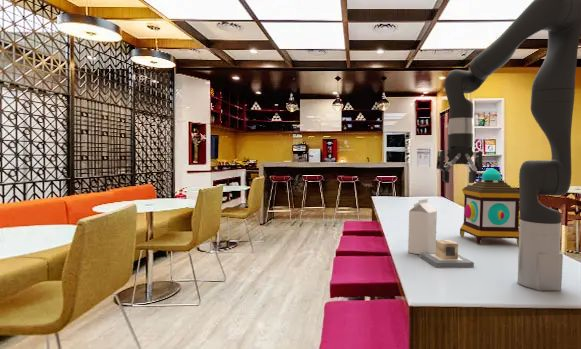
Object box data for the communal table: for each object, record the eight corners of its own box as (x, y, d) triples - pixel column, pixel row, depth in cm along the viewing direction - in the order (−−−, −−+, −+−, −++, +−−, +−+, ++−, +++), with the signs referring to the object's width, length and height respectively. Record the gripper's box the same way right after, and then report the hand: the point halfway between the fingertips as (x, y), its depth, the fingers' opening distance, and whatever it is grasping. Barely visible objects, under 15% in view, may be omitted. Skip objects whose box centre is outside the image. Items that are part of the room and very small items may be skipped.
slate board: (473, 267, 118) (474, 262, 118) (436, 267, 117) (436, 262, 117) (454, 257, 130) (454, 252, 130) (420, 257, 129) (420, 252, 129)
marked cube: (450, 255, 126) (450, 240, 126) (457, 259, 121) (458, 243, 121) (435, 255, 126) (435, 240, 126) (442, 259, 121) (443, 243, 121)
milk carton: (435, 253, 136) (437, 199, 135) (427, 256, 130) (428, 201, 130) (416, 249, 140) (418, 198, 140) (407, 252, 135) (409, 199, 134)
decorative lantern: (475, 245, 148) (478, 168, 147) (455, 235, 168) (457, 167, 167) (527, 246, 148) (530, 169, 146) (501, 236, 167) (503, 167, 166)
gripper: (474, 134, 127) (473, 182, 128) (433, 133, 126) (432, 182, 127) (488, 132, 120) (486, 183, 121) (444, 131, 119) (443, 183, 119)
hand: (458, 182), depth 124 cm, fingers open, 8 cm apart
